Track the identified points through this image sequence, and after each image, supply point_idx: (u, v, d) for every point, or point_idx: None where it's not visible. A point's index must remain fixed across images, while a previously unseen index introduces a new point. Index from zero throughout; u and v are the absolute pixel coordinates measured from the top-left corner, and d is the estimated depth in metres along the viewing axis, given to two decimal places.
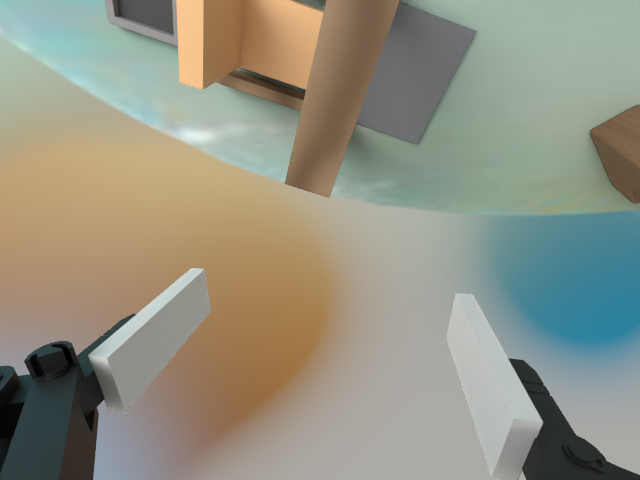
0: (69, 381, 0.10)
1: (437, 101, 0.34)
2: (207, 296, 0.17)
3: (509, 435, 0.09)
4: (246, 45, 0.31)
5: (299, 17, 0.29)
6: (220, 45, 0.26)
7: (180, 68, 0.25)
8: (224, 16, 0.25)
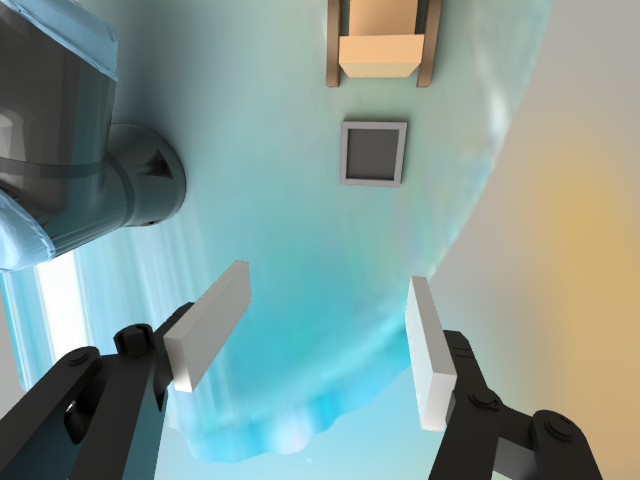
0: (146, 362, 0.10)
1: None
2: (249, 287, 0.18)
3: (431, 388, 0.10)
4: None
5: None
6: None
7: (407, 60, 0.26)
8: None
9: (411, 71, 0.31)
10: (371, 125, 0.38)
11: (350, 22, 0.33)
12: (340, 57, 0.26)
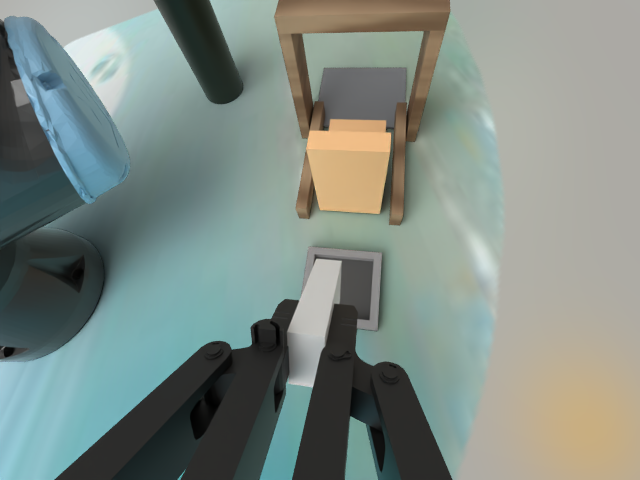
0: (272, 361, 0.10)
1: (369, 68, 0.44)
2: None
3: (307, 349, 0.12)
4: None
5: None
6: None
7: (376, 150, 0.25)
8: None
9: (382, 190, 0.30)
10: (341, 252, 0.33)
11: None
12: (308, 144, 0.26)
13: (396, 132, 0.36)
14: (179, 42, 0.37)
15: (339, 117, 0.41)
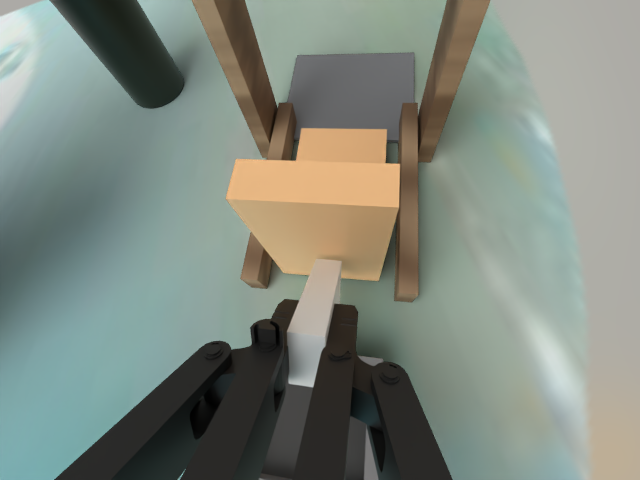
0: (272, 361, 0.10)
1: (361, 54, 0.31)
2: None
3: (308, 349, 0.12)
4: None
5: None
6: None
7: (369, 203, 0.12)
8: None
9: (382, 257, 0.17)
10: None
11: None
12: (230, 189, 0.13)
13: (403, 150, 0.23)
14: (62, 14, 0.24)
15: (317, 126, 0.28)
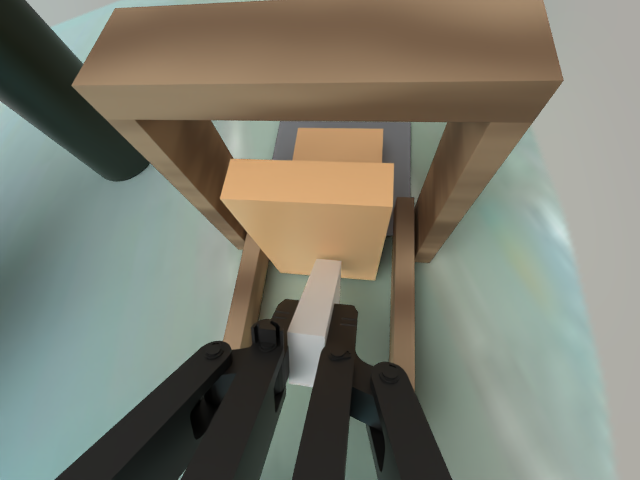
0: (272, 361, 0.10)
1: (352, 123, 0.27)
2: None
3: (307, 349, 0.12)
4: None
5: None
6: None
7: (363, 202, 0.12)
8: None
9: (378, 257, 0.17)
10: None
11: None
12: (224, 189, 0.13)
13: (397, 260, 0.20)
14: (0, 100, 0.20)
15: None
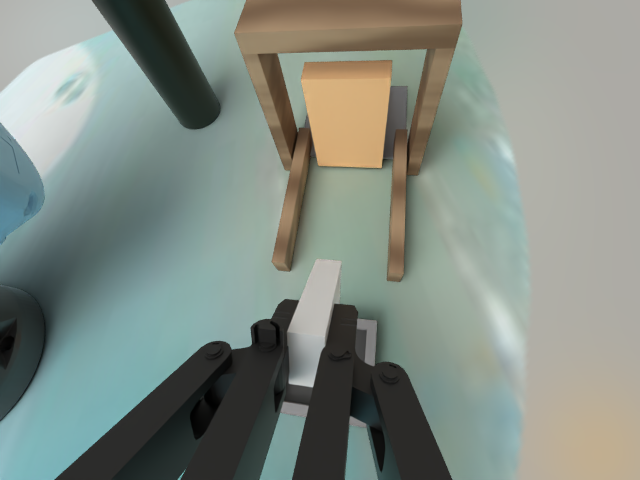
0: (272, 361, 0.10)
1: None
2: None
3: (307, 349, 0.12)
4: None
5: None
6: None
7: (376, 77, 0.23)
8: None
9: (383, 134, 0.28)
10: None
11: None
12: (303, 75, 0.24)
13: (395, 166, 0.30)
14: (137, 62, 0.31)
15: None
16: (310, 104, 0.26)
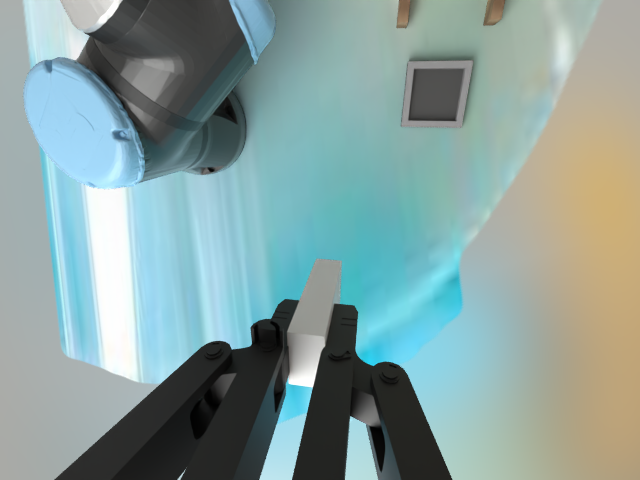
0: (272, 361, 0.10)
1: None
2: None
3: (307, 349, 0.12)
4: None
5: None
6: None
7: None
8: None
9: None
10: (437, 64, 0.39)
11: None
12: None
13: None
14: None
15: None
16: None
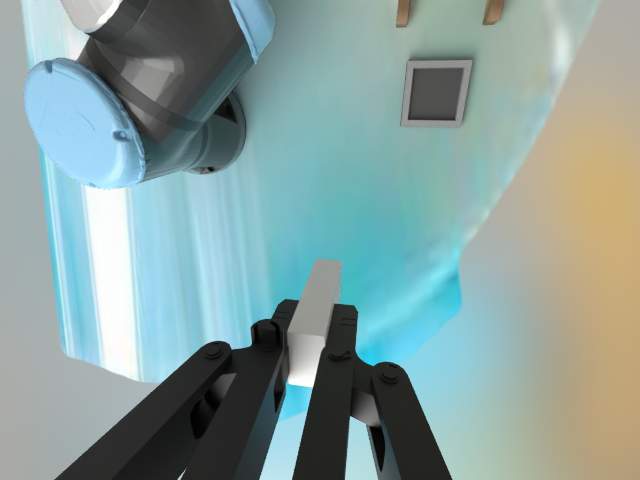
0: (272, 361, 0.10)
1: None
2: None
3: (307, 349, 0.12)
4: None
5: None
6: None
7: None
8: None
9: None
10: (437, 63, 0.39)
11: None
12: None
13: None
14: None
15: None
16: None
